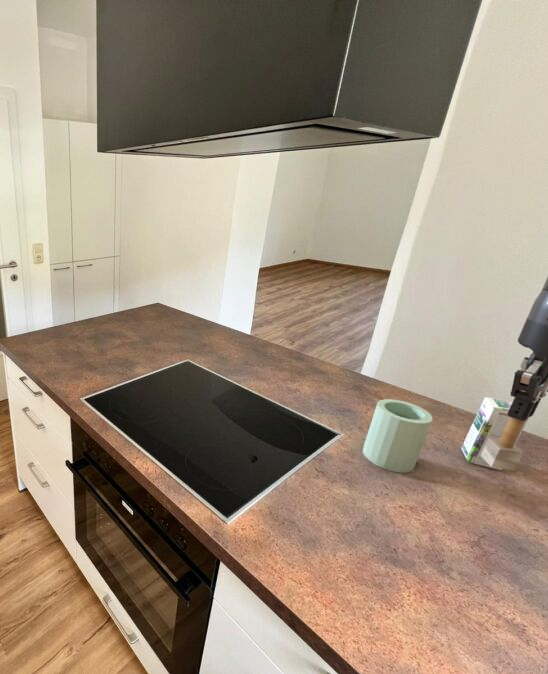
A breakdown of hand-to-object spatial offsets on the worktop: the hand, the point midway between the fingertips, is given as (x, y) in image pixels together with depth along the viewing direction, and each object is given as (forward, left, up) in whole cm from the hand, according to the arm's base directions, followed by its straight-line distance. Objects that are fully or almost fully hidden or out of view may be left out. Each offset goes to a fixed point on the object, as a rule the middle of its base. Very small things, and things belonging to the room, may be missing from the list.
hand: (519, 416), depth 62 cm
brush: (0, 0, -10) cm, 10 cm away
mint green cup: (+10, -12, -21) cm, 27 cm away
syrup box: (-10, -18, -22) cm, 30 cm away
